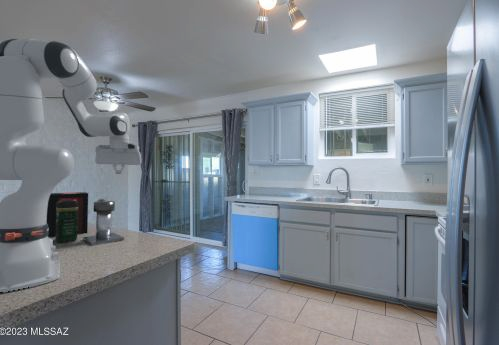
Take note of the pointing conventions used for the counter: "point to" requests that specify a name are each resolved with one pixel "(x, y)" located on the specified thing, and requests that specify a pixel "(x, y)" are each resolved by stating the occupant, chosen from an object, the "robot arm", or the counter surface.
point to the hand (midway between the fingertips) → (118, 173)
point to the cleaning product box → (82, 211)
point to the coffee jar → (66, 220)
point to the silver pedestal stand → (103, 230)
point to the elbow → (104, 206)
